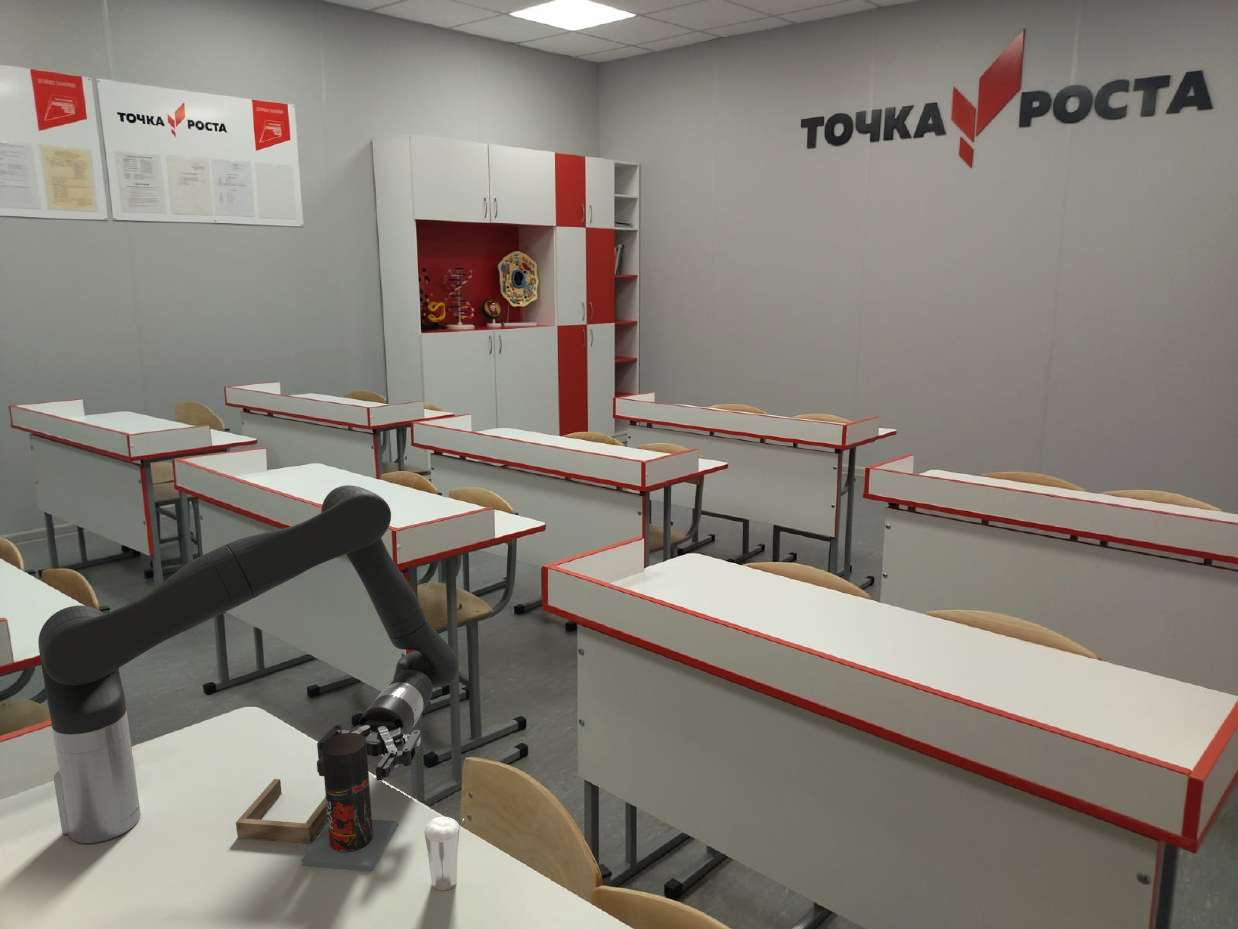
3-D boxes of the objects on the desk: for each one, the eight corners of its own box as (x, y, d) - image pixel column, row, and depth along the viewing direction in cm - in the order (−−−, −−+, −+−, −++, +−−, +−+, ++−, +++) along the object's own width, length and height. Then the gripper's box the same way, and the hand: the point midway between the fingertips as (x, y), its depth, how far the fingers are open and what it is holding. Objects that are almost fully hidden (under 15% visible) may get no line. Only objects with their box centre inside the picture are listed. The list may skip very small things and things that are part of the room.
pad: (301, 865, 121) (301, 860, 121) (333, 820, 131) (333, 815, 131) (371, 871, 120) (371, 866, 120) (398, 825, 130) (397, 821, 130)
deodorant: (381, 834, 127) (375, 739, 123) (350, 857, 122) (343, 759, 118) (352, 821, 130) (344, 728, 126) (320, 844, 124) (312, 748, 121)
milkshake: (460, 897, 115) (456, 830, 113) (421, 891, 116) (417, 824, 114) (472, 874, 120) (469, 809, 117) (435, 869, 121) (431, 804, 118)
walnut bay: (237, 837, 127) (235, 822, 127) (275, 793, 138) (274, 779, 137) (310, 843, 126) (308, 828, 125) (342, 798, 136) (341, 784, 136)
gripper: (348, 691, 140) (299, 745, 124) (434, 696, 138) (396, 752, 122) (351, 734, 141) (303, 793, 126) (437, 739, 140) (399, 800, 124)
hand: (349, 773), depth 124 cm, fingers open, 8 cm apart
